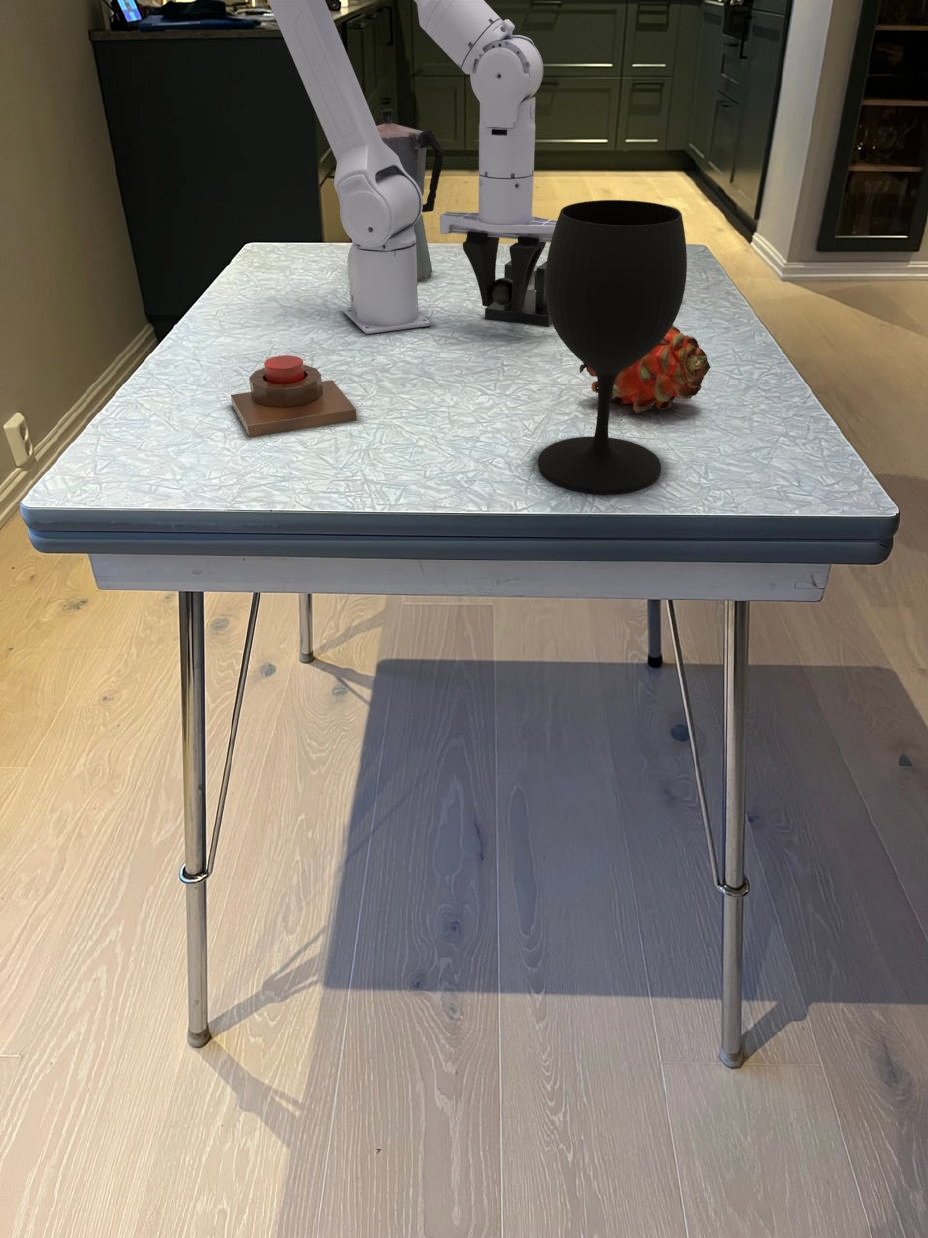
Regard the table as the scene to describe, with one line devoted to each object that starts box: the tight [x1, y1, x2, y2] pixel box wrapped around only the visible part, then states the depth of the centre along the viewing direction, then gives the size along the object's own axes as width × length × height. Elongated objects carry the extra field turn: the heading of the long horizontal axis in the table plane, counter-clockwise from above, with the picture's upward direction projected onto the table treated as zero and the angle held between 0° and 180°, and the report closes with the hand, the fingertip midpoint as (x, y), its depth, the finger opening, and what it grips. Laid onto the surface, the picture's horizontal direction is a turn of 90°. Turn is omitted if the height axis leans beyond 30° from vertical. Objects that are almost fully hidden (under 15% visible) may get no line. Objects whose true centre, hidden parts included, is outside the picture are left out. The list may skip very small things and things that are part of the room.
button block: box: [230, 364, 358, 439], centre depth 88 cm, size 10×9×3 cm
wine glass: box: [537, 199, 688, 495], centre depth 73 cm, size 10×10×20 cm
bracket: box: [484, 260, 552, 327], centre depth 113 cm, size 9×8×6 cm
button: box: [263, 354, 305, 384], centre depth 88 cm, size 4×4×2 cm
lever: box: [490, 265, 540, 306], centre depth 108 cm, size 12×3×3 cm, turn 157°
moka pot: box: [376, 108, 444, 280], centre depth 122 cm, size 10×15×20 cm, turn 54°
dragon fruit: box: [579, 324, 712, 414], centre depth 88 cm, size 8×8×12 cm
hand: (503, 305), depth 106 cm, fingers closed on lever, 3 cm apart
